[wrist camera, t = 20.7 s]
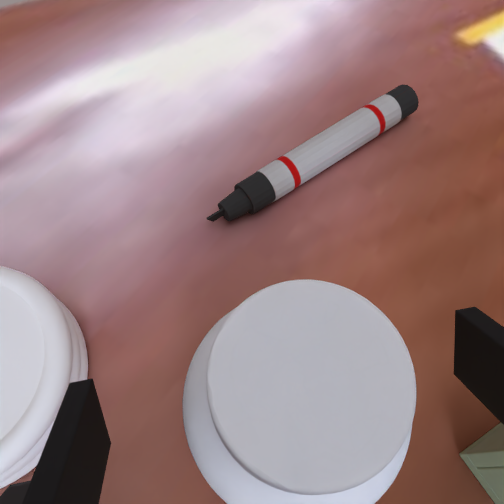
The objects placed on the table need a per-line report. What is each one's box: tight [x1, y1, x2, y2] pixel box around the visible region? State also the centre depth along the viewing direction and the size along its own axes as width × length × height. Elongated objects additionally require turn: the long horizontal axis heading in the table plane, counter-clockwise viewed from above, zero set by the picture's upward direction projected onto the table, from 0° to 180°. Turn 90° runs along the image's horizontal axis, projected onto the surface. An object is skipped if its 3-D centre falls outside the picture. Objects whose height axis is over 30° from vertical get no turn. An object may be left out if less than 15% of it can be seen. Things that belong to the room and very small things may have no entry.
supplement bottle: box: [183, 279, 416, 504], centre depth 16 cm, size 7×7×13 cm
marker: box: [207, 85, 418, 221], centre depth 27 cm, size 15×2×2 cm, turn 127°
